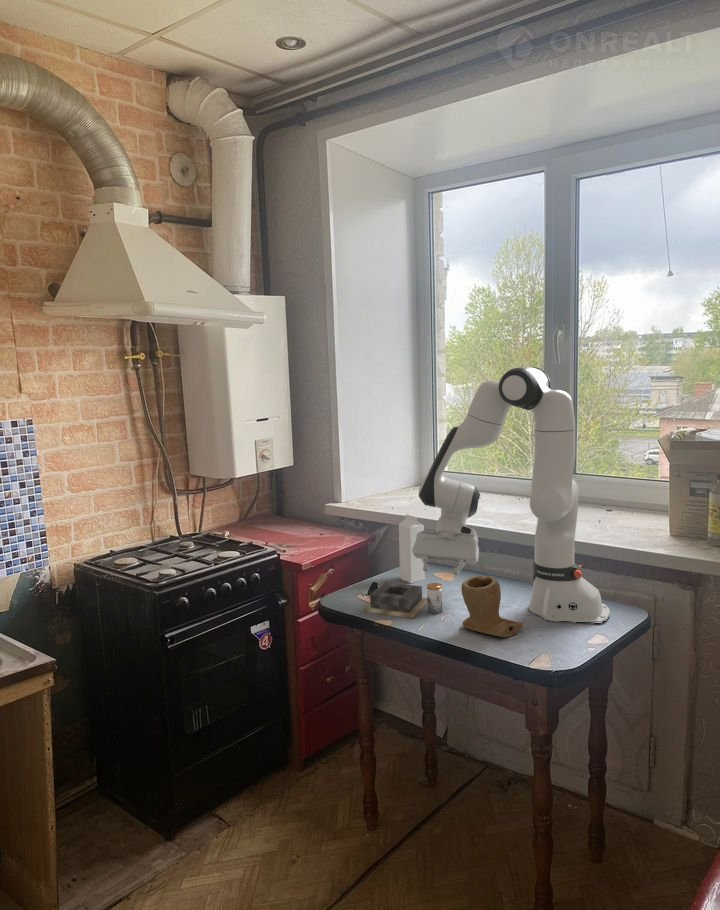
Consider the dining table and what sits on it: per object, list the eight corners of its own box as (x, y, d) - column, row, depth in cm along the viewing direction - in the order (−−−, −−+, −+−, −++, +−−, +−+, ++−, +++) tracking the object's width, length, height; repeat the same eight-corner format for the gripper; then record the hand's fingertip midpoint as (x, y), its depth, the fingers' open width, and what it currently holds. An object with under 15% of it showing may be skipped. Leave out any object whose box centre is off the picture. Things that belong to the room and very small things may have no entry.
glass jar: (444, 609, 201) (444, 583, 200) (439, 615, 197) (439, 588, 196) (430, 608, 203) (429, 582, 202) (425, 613, 199) (425, 587, 198)
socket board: (429, 601, 208) (429, 586, 207) (414, 618, 195) (413, 601, 194) (381, 595, 214) (380, 580, 214) (363, 611, 202) (362, 595, 201)
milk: (411, 583, 225) (409, 518, 221) (399, 579, 230) (398, 515, 226) (425, 579, 228) (423, 515, 225) (413, 575, 233) (412, 512, 230)
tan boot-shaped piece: (452, 631, 185) (452, 578, 183) (477, 618, 194) (476, 567, 192) (500, 646, 175) (500, 590, 173) (524, 632, 184) (524, 578, 181)
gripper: (415, 524, 214) (405, 563, 206) (479, 530, 205) (471, 571, 198) (420, 535, 218) (410, 573, 211) (483, 540, 210) (475, 581, 203)
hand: (440, 572), depth 204 cm, fingers open, 8 cm apart
